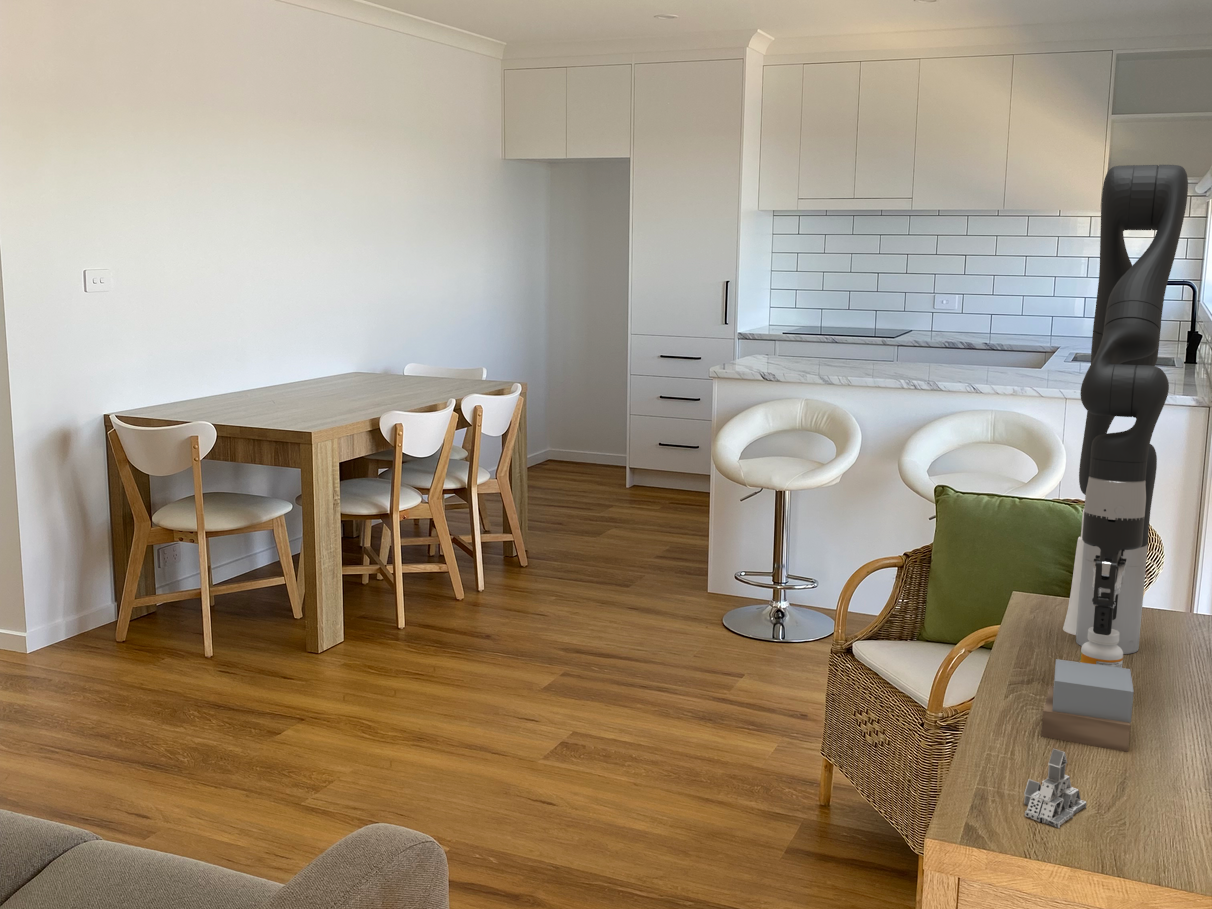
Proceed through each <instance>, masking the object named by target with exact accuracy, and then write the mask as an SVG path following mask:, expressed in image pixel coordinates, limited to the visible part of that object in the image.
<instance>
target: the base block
mask: <svg viewBox="0 0 1212 909" xmlns="http://www.w3.org/2000/svg"><path fill="white" fill-rule="evenodd" d="M1053 689H1054V685H1053V686H1052V685H1049V687H1048V692H1047V696H1046V700H1045V703H1044V706H1043V709H1042V710H1043V711H1042V724H1041V725H1042V726H1041V736H1040V737H1044V738H1049V739H1055V740H1060V741H1066V742H1070V741H1071V743H1076V744H1081V745H1087V746H1092V747H1093V746H1094V747H1099V748H1104V749H1107V750H1109V749H1110V750H1115V751H1119V752H1126V753H1128V752H1129V748H1130V747H1129V745H1130V737H1131V736H1130V734H1131V724H1132V722H1131V723H1129V722H1122V721H1116V720H1109V719H1102V718H1096V717H1089V716H1082V715H1076V714H1069V713H1062V712H1056V711H1052V710H1053Z"/></svg>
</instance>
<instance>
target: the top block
mask: <svg viewBox="0 0 1212 909" xmlns="http://www.w3.org/2000/svg"><path fill="white" fill-rule="evenodd" d="M1053 677H1054V678H1053V686H1054V689H1053V710H1052V711H1056V712H1062V713H1069V714H1076V715H1082V716H1089V717H1096V718H1102V719H1109V720H1116V721H1122V722H1129V723H1131V724H1132V714H1133V701H1134V692H1135V691H1134V685H1133V679H1132V672H1131V668H1125V667H1122V668H1119V667H1111V666H1104V665H1096V664H1089V663H1081V662H1080V661H1072V660H1067V659H1066V660H1064V659H1057V658H1056V659H1055V667H1054V676H1053Z"/></svg>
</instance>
